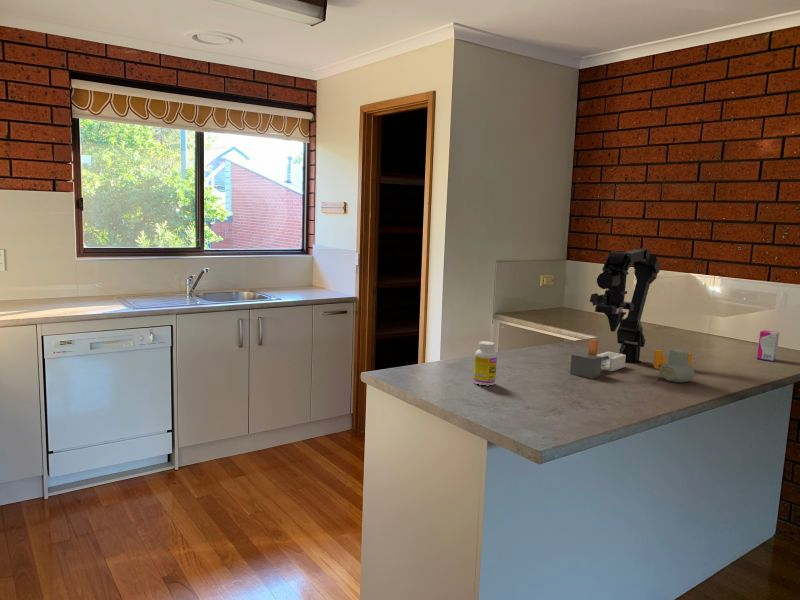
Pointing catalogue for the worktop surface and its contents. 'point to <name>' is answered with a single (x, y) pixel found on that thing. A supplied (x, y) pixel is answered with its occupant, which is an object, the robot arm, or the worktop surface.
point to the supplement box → (768, 345)
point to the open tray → (614, 361)
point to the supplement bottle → (485, 364)
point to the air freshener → (677, 367)
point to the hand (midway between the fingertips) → (612, 331)
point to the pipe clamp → (660, 360)
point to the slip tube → (593, 351)
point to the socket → (585, 365)
